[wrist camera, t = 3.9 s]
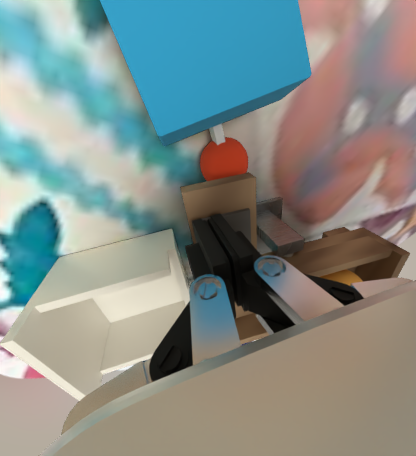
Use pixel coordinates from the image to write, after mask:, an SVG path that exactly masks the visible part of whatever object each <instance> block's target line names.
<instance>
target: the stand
mask: <svg viewBox="0 0 416 456" xmlns="http://www.w3.org/2000/svg"><path fill="white" fill-rule="evenodd" d="M282 200H283V198H281V197H278V198H274V199H270V200H266V201H262V202H258V203H256V221H257V251H258V252H259V253H260V254H264V253H268V252H273V253H274V254H275V255H276V256H278V257H281V256H284V255H288V254H291V253H294V252H298V251H301V250H303V246H304V238H303V237H302V236H301V235H299V234H298V233H297V232H295V231H294V230H293V229H292V228H290V227H289V226H288V225H287V224H285V223H284V222H283V221H282V220H281V215H282Z"/></svg>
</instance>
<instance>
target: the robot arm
mask: <svg viewBox="0 0 416 456" xmlns="http://www.w3.org/2000/svg"><path fill="white" fill-rule="evenodd" d="M192 226H193V230H194V235H195V239H196V243H195V244H191V245H188V246H185V249H186V253H187V257H188V260H189V264H190V267H191V271H192V274H193V278H194V281H193V282H192V284H191V286H190V290H189V295H190V301H189V302H188V304H187V305H186V307H185V308H184V310H183V311H182V313H181V314H180V315H179V317H178V318H177V320H176V321H175V323H174V324H173V325H172V327H171V328H170V330H169V331H168V333H167V334H166V336H165V337H164V338H163V340H162V341H161V343H160V344H159V346H158V347H157V348H156V350H155V352H154V353H153V355H152V357H151V358H150V359H149V360H147V361H146V362H144V363H143V362H142V361H140V362H139V363H137V364H136V365H134V366H132V367H131V368H129V369H128V370H126V371H124V372H123V373H121V374H120V375H118V376H117V377H115V378H114V379H112V380H110V381H109V382H107V383H105V384H104V385H102V386H101V387H99V388H97V389H96V390H94V391H93V392H91V393H89V394H88V395H86V396H85V397H84V398H82V399H81V400H80V401H79V402H78V403H77V404H76V405H75V406H74V408H73V409H72V410H71V411H70V413H69V415H68V417H67V419H66V421H65V422H64V425H63V429H62V434H61V436H60V437H59V438H57V440H56V441H54V442H53V443H52V444H51V445H50V446H49V447H47V448H46V449H45V450H44V451H43V452H42V453H41V454H40V455H39V456H416V280H415V281H412V280H410V279H405V278H388V279H380V280H372V281H364V282H356V283H351V285H350V286H349V285H347V284H344V283H341V282H337V281H333V280H328V279H324V278H320V277H316V276H312V275H308V274H303V273H301V272H300V271H299V270H297V269H296V268H295V267H293V266H292V265H291V264H290V263H288V262H287V261H286V260H284V259H282V258H281V257H278V256H273V255H267V256H262V255H261V254H260V253H259V252H258V251H257V249H256V248H255V247H254V246H253V245H252V244H251V242H250V241H249V240H248V239H247V238H246V237H245V235H244V234H243V233H242V232H241V231H237V232H235V231H234V230H233V229H232V227H231V226H230V225H229V224H228V222H227V221H226V220H225V219H224V217H223V216H222V215H221V214H220V213H219V214H215V215H211V216H210V219H208V223H207V222H206V220H202V219H201V218H200V219H196V220H192ZM235 302H236V304H237V306H238V307H239V306H242V308H243V310H244V312H246V311H248V310H249V311H250V312H252V313H255V314H256V317H257V319H258V320H259V322H260V323H261V324H262V326H263V327H264V328H265V330H266V331H267V332H268V334H269V336H266V337H264V338H261V339H259V340H256V341H254V342H251V343H248V344H246V345H243V346H241V343H240V339H239V335H238V332H237V328H236V324H235V318H236V309H235Z"/></svg>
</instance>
